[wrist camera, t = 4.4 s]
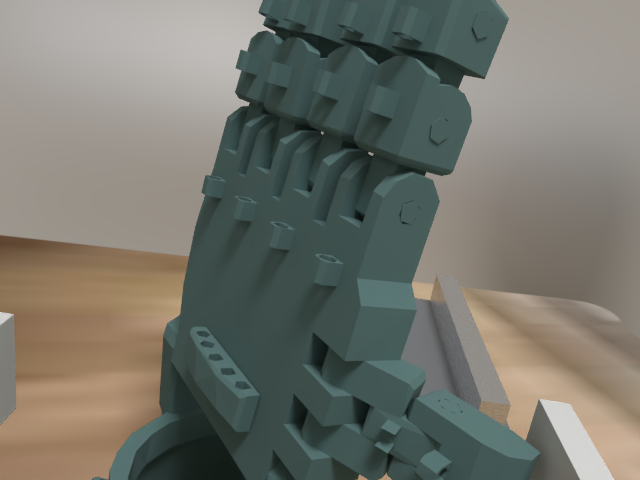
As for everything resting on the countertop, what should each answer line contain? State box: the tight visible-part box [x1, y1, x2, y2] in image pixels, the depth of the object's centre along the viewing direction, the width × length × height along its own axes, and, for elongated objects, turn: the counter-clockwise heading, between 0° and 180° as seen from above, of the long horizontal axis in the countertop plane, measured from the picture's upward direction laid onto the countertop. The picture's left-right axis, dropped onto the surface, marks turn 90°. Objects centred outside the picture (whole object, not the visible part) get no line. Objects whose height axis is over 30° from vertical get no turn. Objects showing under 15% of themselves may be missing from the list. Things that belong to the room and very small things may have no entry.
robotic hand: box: [92, 0, 541, 480], centre depth 18 cm, size 14×10×25 cm
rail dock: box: [401, 274, 511, 429], centre depth 39 cm, size 18×18×4 cm
